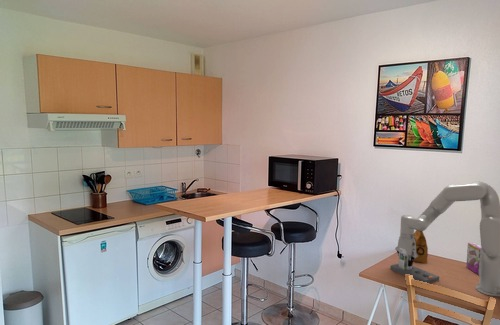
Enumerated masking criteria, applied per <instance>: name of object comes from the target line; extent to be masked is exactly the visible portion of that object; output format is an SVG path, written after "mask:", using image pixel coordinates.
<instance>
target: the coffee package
mask: <svg viewBox="0 0 500 325" xmlns="http://www.w3.org/2000/svg"><path fill="white" fill-rule="evenodd" d="M414 236H415V238H414V239H415V243H416V254H417V255H418V257H417V258H415V259H414V260H413V262H414V263H417V262H418V263H422V264H427V262H428V255H429V253H428V252H429V248H428V243H427V239H426V235H425V234H424V231H418V230H414ZM413 256H414V255H413Z"/></svg>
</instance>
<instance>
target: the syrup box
mask: <svg viewBox="0 0 500 325" xmlns="http://www.w3.org/2000/svg"><path fill="white" fill-rule="evenodd" d="M408 260H409V257H408V255H407V250H405V249H402V248H400V250H399V256H398V263H399V267H400V268H402V269H404V270H410V269H412V266H413V265H412V266H410V267H409V266H408Z"/></svg>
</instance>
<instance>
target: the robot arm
mask: <svg viewBox="0 0 500 325" xmlns="http://www.w3.org/2000/svg"><path fill="white" fill-rule="evenodd" d="M470 201H479V203H480V213H481V214H480V215H481V217H480V221H479V222H480V223H479V234H480V235H479V237H480V246H481V248H482V253H481V266H480V275H479V280H478V282H479V283H478V284H476V285H475V290H476V291H478V292H479V293H481V294H484V295H487V296H491V297H500V198H499V195H498V193H497V191H496V190H495V188H494V187H492V186H491V185H489V184H487V183H485V182H484V181H483V182H482V181H473V182H471V183H470V184H464V185H463V184H462V185H458V184H454V183H451V184H448V185H446V186H444V187H443V189H442V190H441V191H440V193H438V194H437V195H436V196H435V197H434V198H433V199H432V200H431V201H430V203H429V205H428V206H427V207H426V209H424V211H423V212H422V213H421V214H420V215H419V216H418V217H416V218H415V216H413V215H409V214H404V215H401V216H400V231H399V233H400V234H399V237H398V240H397V246H396V247H395V252H396V253H397V255H398V257H399V250H400V248H402V249H405V250H407V255H408V257H409V260H408V266H409V267H410V266H414V265H413V264H414V259H415V258H417V257H418V255H417V254H416V243H415V239H414V238H415V236H414V233H415V231H416V230H418V231H423V232H424V231H426V230H427V229H428V227H430V225H432V223H434V221H435V220H437V218H438V217H439V216H441V215H442V214H444V213H445V212H446V211H447V210H448V209H449V208H450V207H451V206H452V205H453V204H454V203H455V202H470ZM413 255H414V256H413Z"/></svg>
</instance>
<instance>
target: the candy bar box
mask: <svg viewBox="0 0 500 325" xmlns="http://www.w3.org/2000/svg"><path fill="white" fill-rule="evenodd" d="M466 252H467V254H466V268H467V269H468V270H469V271H471V272H473V273H474V274H476V275H477V276H478V275H479V276H480V266H481V253H482V248H481V244H478V243H476V242H467V251H466Z"/></svg>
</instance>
